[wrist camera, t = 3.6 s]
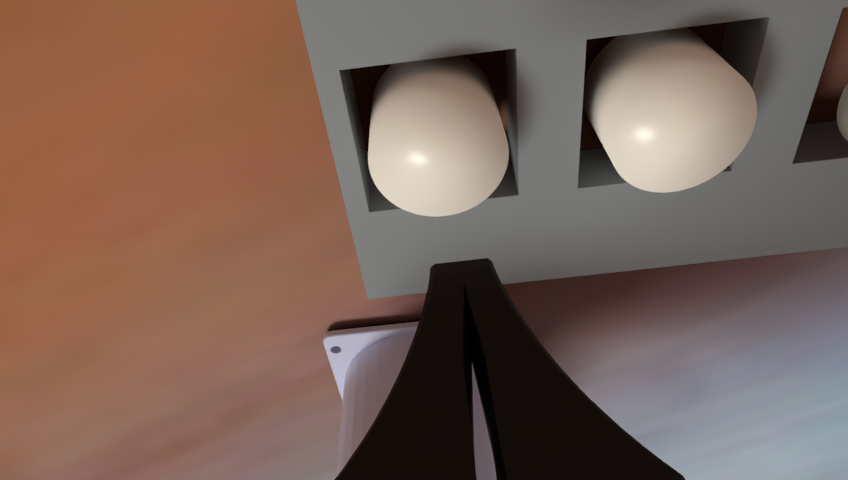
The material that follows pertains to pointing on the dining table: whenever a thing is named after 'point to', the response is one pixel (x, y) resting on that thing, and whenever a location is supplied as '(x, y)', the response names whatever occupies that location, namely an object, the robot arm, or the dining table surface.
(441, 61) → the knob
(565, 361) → the dining table surface
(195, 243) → the dining table surface
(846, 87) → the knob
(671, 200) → the console
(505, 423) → the robot arm
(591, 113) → the middle knob
